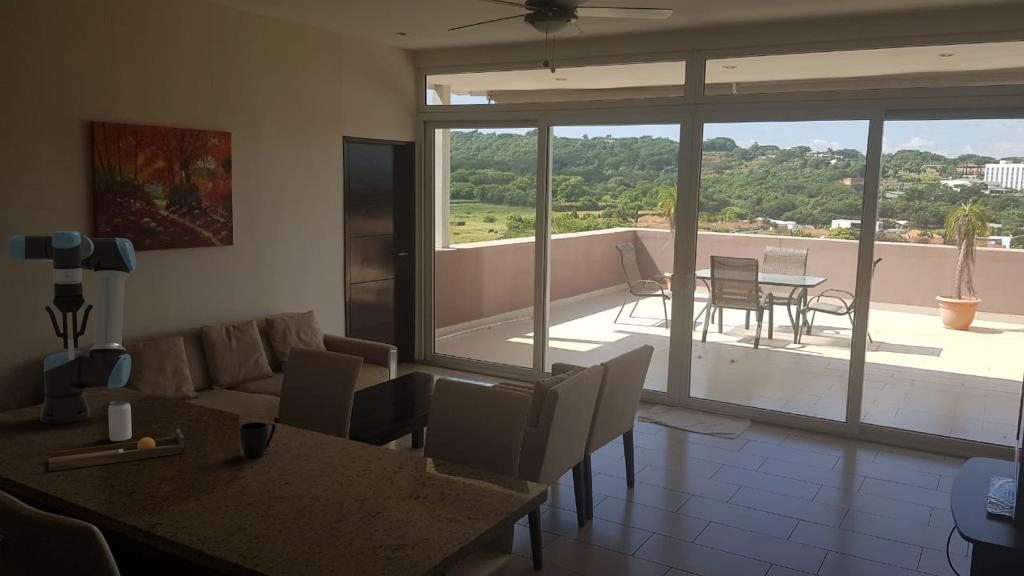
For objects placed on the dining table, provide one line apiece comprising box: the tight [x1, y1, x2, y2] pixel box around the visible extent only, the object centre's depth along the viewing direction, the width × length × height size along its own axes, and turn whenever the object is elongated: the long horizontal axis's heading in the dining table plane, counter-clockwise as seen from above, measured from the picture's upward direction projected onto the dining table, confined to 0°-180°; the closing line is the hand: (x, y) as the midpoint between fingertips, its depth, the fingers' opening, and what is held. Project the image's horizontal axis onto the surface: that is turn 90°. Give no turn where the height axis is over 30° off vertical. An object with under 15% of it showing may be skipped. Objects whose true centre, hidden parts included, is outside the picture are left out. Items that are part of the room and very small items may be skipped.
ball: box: [137, 436, 155, 450], centre depth 239 cm, size 5×5×5 cm
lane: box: [48, 428, 185, 472], centre depth 237 cm, size 10×36×5 cm, turn 120°
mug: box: [239, 421, 277, 460], centre depth 242 cm, size 8×12×10 cm
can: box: [107, 400, 133, 443], centre depth 253 cm, size 6×6×12 cm
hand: (71, 358), depth 240 cm, fingers closed
